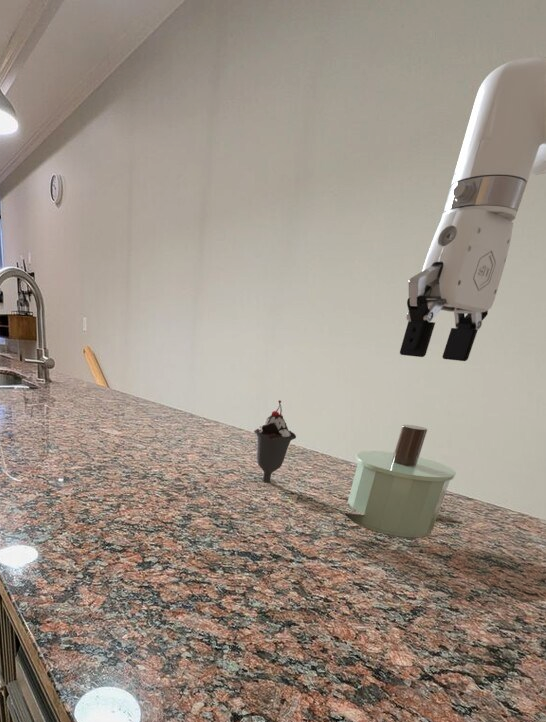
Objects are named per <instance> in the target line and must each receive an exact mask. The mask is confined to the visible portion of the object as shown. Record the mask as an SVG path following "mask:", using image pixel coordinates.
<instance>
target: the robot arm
mask: <svg viewBox="0 0 546 722" xmlns="http://www.w3.org/2000/svg"><path fill="white" fill-rule="evenodd" d="M544 174H546V56H527V57H521V58H517V59H514V60H511V61H508V62H506V63H503V64H501V65H500V66H497V67H496V68H495V69H494V70H492V71H491V72H489V74H488V75H486V77H485V78H484V79H483V81H482V82H481V84H480V86H479V88H478V90H477V93H476V95H475V99H474V103H473V106H472V110H471V113H470V117H469V120H468V123H467V127H466V131H465V134H464V138H463V142H462V145H461V149H460V152H459V155H458V159H457V162H456V166H455V169H454V173H453V176H452V180H451V184H450V188H449V191H448V193H447V198H446V201H445V205H444V209H443V212H442V215H441V219H440V222H439V224H438V226H437V228H436V231H435V233H434V236H433V238H432V241H431V244H430V246H429V249H428V252H427V254H426V258H425V261H424V264H423V267H422V270H421V271H420V272H419V273H417V274H415V275H413V276H412V277H410V279H409V280H408V298H407V299H406V300H407V301H406V305H407V310H408V312H407V314H406V320H407V325H406V328H405V332H404V335H403V339H402V343H401V345H400V349H399V355H400V356H409V357H417V358H425V356H426V355H427V353H428V348H429V346H430V342H431V338H432V335H433V332H434V328H435V325H436V322H433V320H434V318H435V317H436V316H437V315H438V314H439V312H440V311H446V312H452V313H453V315H454V324H455V327H451V328H450V331H449V334H448V338H447V341H446V343H445V347H444V350H443V353H442V359H443V360H449V361H450V360H451V361H459V362H466V361H468V360H469V357H470V354H471V351H472V348H473V346H474V342H475V339H476V337H477V333H478V331H479V330H480V329H481V327H482V324H483V321H484V319H486V317H487V316H488V314H489V310H490V309H492V307H493V304H494V301H495V299H496V296H497V292H498V289H499V287H500V282H501V279H502V277H503V272H504V269H505V265H506V261H507V258H508V253H509V250H510V246H511V239H512V235H513V229H514V227H513V226H514V222H513V221H514V220H515V219H516V217H517V214H518V211H519V207H520V205H521V203H522V199H523V196H524V193H525V190H526V186H527V184H528V181H529V178H530V176H531V175H532V176H533V175H534V176H537V175H544ZM465 314H466V315H465Z"/></svg>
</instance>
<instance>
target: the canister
mask: <svg viewBox="0 0 546 722" xmlns="http://www.w3.org/2000/svg"><path fill="white" fill-rule="evenodd" d="M450 481H451V480H449V481H422V480H414V479H408V478H403V477H398V476H393V475H389V474H385V473H382V472H378V471H375V470H372V469H370V468H367V467H365V466H363V465H361V464H359V463H358V462H357V464H356V468H355V472H354V475H353V480H352V484H351V487H350V490H349V495H348V499H347V504H348V505H349V506H350V507H351V508H352V509H354V510H355V511H357V512H358V513H361V514H355V513H345V515H346V517H347V518H348V519H349V520H350V521H352V522H354V523H355V524H356V525H359V526H361V527H362V528H364V529H368V530H370V531H374V532H376V533H377V532H378V533H379V534H380V533H381V534H384V535H387V536H393V537H398V538H399V537H400V538H410V539H411V538H412V539H413V538H414V539H416V538H417V539H418V538H424V537H427V536H429V535H431V533H432V531H433V530H434V527H435V525H436V521H437V518H438V516H439V513H440V510H441V507H442V504H443V501H444V498H445V495H446V493H447V489H448V487H449V484H450Z"/></svg>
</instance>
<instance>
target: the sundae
mask: <svg viewBox="0 0 546 722" xmlns="http://www.w3.org/2000/svg"><path fill="white" fill-rule="evenodd" d="M281 403H282V400H280V399H279V400H278V404H279V405H278V407H277V409H276V410H273V411H272V412H271V415H270V416H268V417H266V419H265V420H264V421H263V424H261V426H259V427H258V428H257V429H254V431H253V432H254V434H256V436H257V446H256V447H257V451H256V460H257V461H256V462H257V464H258V466H259V468H261V470H262V471H263V475H262V477H263V478H262V481H261V482H264V483H271V478H272V477H271V476H272V474H273V473H274V472H276V471H277V470H279V469H280V468H281V467H282V466H283V463H284V460H285V457H286V455H287V451H288V448H289V446H290V444H291V441H292V440H295V439H296V438H297V435H296V434H295V432H293V431H291V430H289V428H288V425H287V423H286V421H285V419H284V416H283V414H282V412H283V411H282V410H283V409H282V405H281ZM279 410H280V413H279V412H278V411H279Z"/></svg>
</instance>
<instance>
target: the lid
mask: <svg viewBox="0 0 546 722" xmlns="http://www.w3.org/2000/svg"><path fill="white" fill-rule="evenodd" d="M427 433H428V428H427V427H424V426H419V425H414V424H402V425H401V429H400V432H399V435H398V438H397V441H396V445H395V449H394V452H392V451H383V450H382V451H381V450H365V451H360V452H357V453H356V454H355V457H354V458H355V459H354V460H355V462H356V463H357V464H358V463H359V464H361V465H363V466H365V467H367V468H370V469H372V470H375V471H378V472H382V473H385V474H389V475H393V476H398V477H403V478H408V479H414V480H422V481H449V480H450V481H452V480H453V479H455V477H456V471H455V470H454V469H453V468H451V467H450V466H447V465H445V464H444V463H443V464H442V463H440V462H437V461H434V460H431V459H428V458H424V457H420V456H421V451H422V448H423V445H424V442H425V439H426V436H427ZM450 481H449V482H450Z"/></svg>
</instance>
